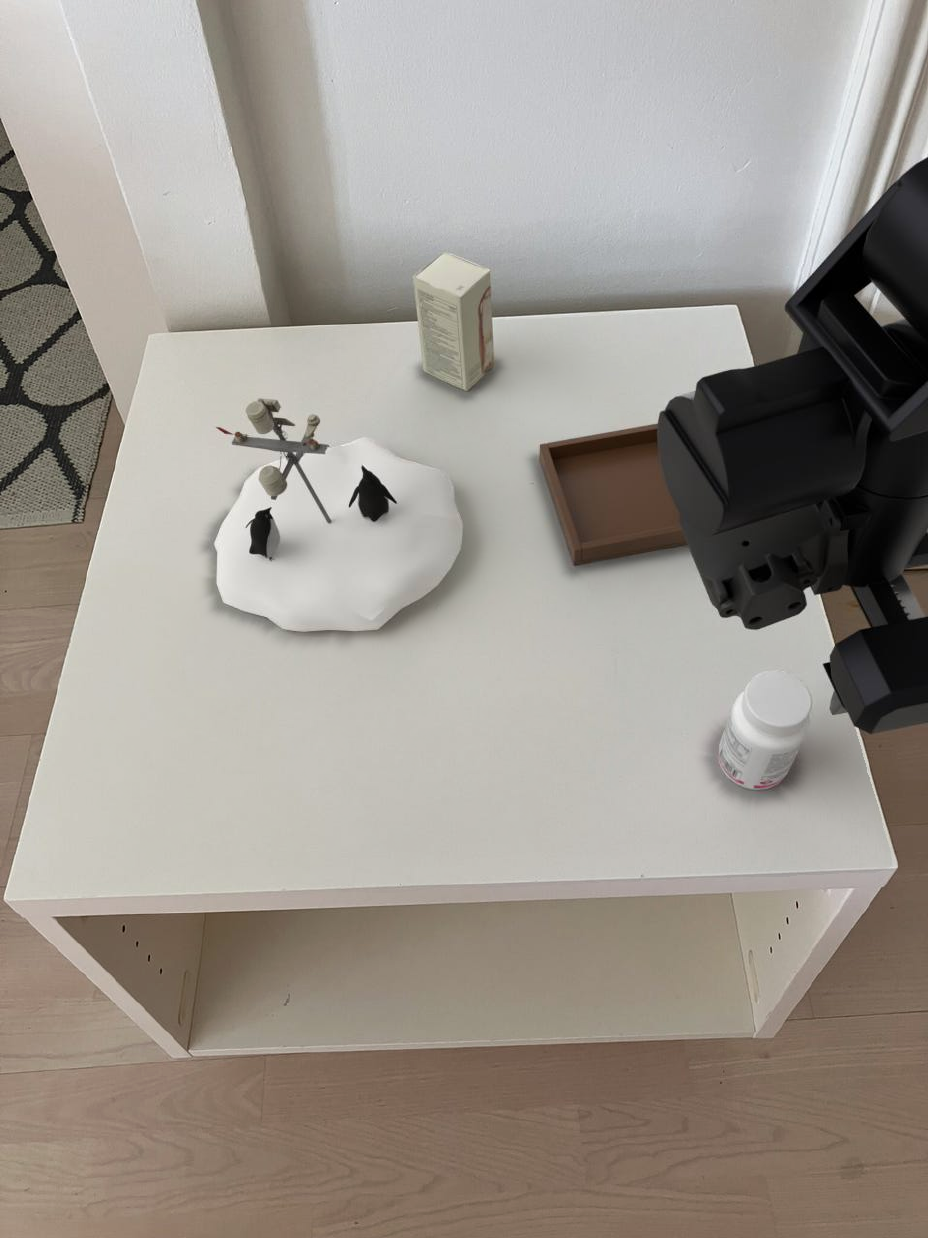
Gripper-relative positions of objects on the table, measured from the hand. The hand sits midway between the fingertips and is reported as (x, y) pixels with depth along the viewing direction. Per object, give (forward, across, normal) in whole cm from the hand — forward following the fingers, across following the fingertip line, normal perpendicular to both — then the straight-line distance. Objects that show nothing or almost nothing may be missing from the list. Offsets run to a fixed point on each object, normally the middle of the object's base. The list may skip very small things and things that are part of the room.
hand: (807, 640), depth 57 cm
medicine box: (+14, -42, -13) cm, 46 cm away
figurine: (+14, -24, -26) cm, 38 cm away
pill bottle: (+14, 0, -1) cm, 14 cm away
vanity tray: (+14, -24, -3) cm, 27 cm away
